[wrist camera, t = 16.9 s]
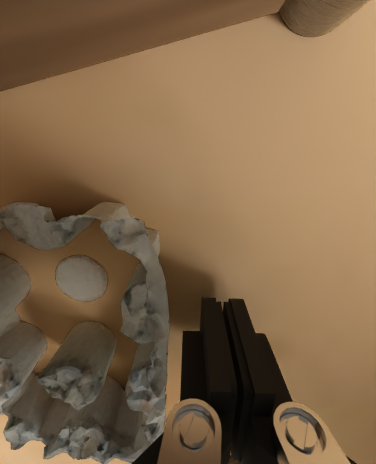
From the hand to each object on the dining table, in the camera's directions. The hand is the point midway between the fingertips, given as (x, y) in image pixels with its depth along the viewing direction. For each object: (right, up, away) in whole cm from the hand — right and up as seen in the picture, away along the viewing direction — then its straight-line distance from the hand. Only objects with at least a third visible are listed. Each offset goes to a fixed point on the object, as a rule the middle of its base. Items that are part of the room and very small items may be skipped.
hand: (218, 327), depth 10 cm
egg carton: (-6, +1, +1) cm, 6 cm away
